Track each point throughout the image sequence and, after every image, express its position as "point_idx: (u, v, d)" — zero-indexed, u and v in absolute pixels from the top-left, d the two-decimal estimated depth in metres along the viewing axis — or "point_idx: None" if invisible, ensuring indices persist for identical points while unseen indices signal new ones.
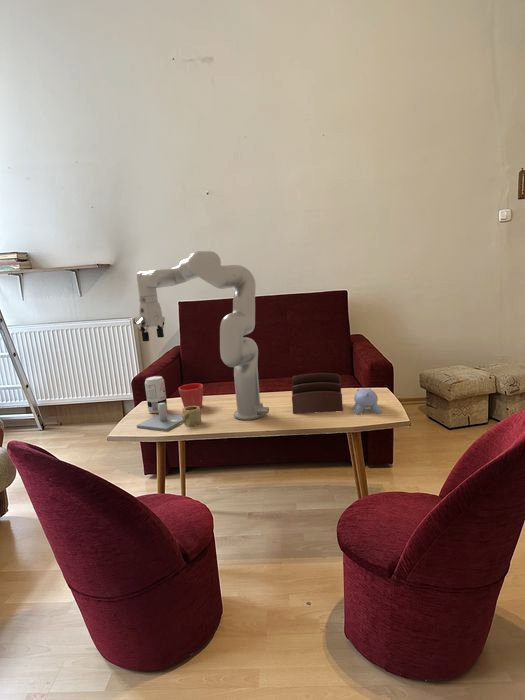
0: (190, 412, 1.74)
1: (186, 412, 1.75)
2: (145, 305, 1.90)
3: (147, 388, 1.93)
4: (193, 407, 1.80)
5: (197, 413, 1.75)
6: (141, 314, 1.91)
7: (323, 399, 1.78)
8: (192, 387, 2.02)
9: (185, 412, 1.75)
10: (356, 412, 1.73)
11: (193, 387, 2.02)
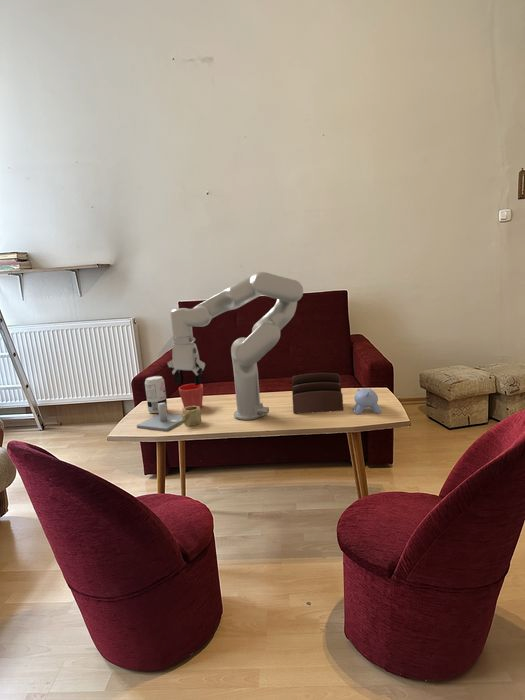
0: (190, 412, 1.74)
1: (186, 412, 1.75)
2: (195, 344, 1.72)
3: (147, 388, 1.93)
4: (193, 407, 1.80)
5: (197, 413, 1.75)
6: (194, 355, 1.71)
7: (324, 399, 1.78)
8: (192, 387, 2.02)
9: (185, 412, 1.75)
10: (356, 412, 1.73)
11: (193, 387, 2.02)
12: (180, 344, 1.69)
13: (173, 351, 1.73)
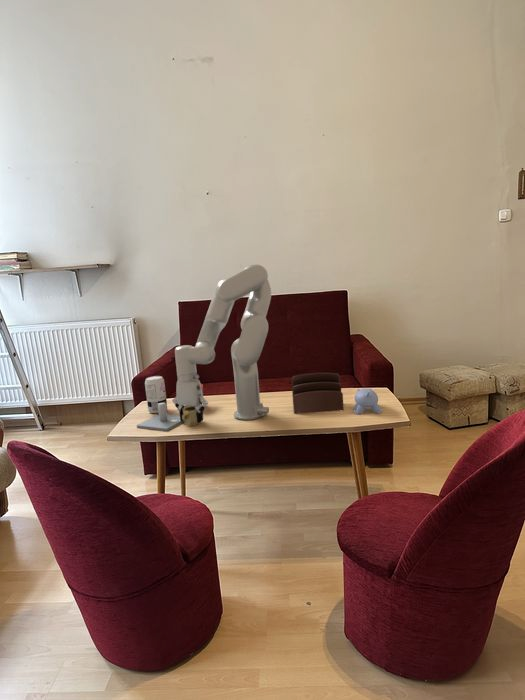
0: (190, 412, 1.74)
1: (186, 412, 1.75)
2: (199, 381, 1.75)
3: (147, 388, 1.93)
4: (193, 407, 1.80)
5: None
6: (198, 392, 1.73)
7: (324, 398, 1.78)
8: None
9: (185, 412, 1.75)
10: (357, 412, 1.73)
11: None
12: (184, 381, 1.72)
13: (177, 387, 1.76)
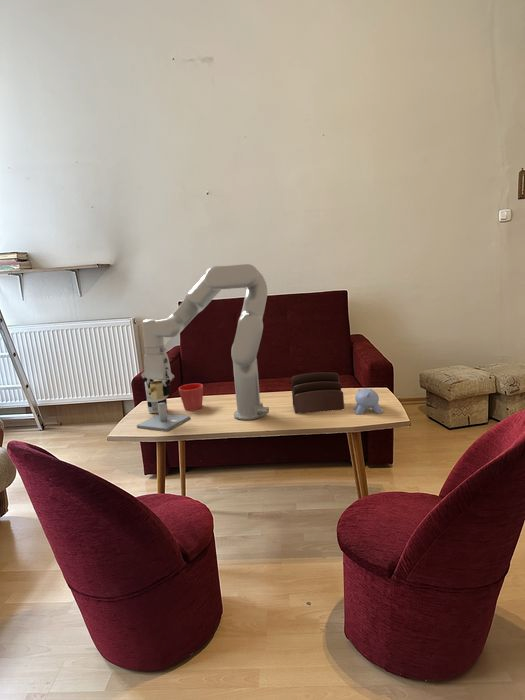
0: (156, 385, 1.75)
1: (152, 385, 1.75)
2: (166, 354, 1.76)
3: (147, 388, 1.93)
4: (160, 381, 1.81)
5: None
6: (165, 365, 1.74)
7: (325, 398, 1.79)
8: (192, 387, 2.02)
9: (152, 385, 1.76)
10: (357, 412, 1.73)
11: (193, 387, 2.02)
12: (151, 354, 1.72)
13: (144, 360, 1.76)
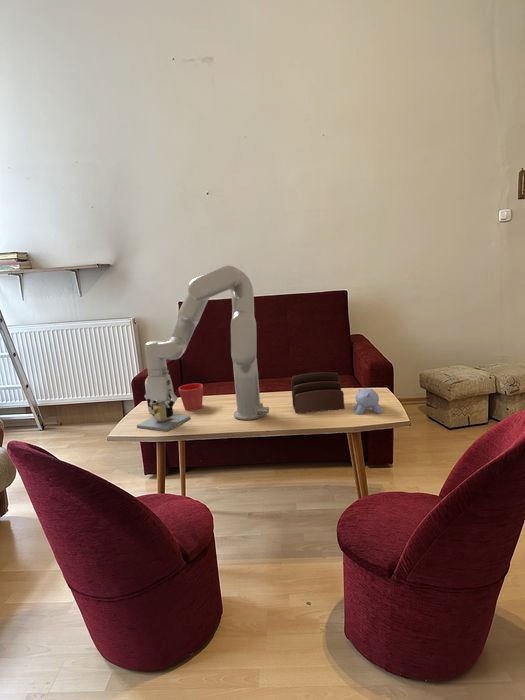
0: (160, 407, 1.77)
1: (156, 407, 1.77)
2: (169, 376, 1.77)
3: None
4: (164, 402, 1.82)
5: (166, 407, 1.78)
6: (168, 387, 1.76)
7: (325, 398, 1.79)
8: (192, 387, 2.02)
9: (155, 407, 1.77)
10: (357, 412, 1.73)
11: (193, 387, 2.02)
12: (154, 376, 1.74)
13: (148, 382, 1.78)
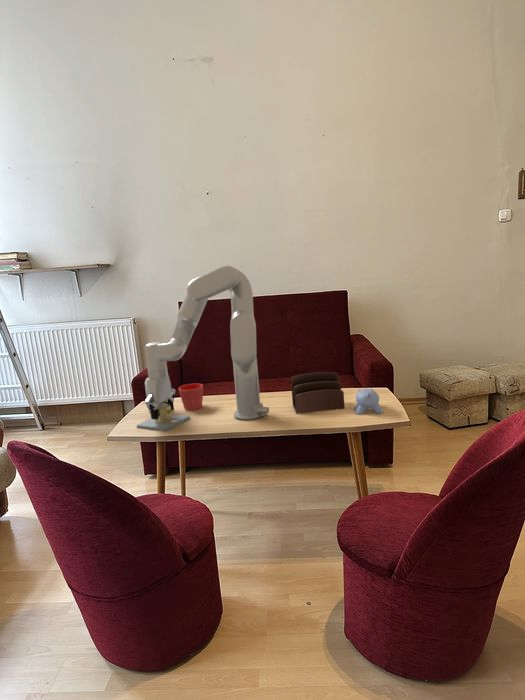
0: None
1: (168, 408, 1.79)
2: None
3: None
4: None
5: None
6: None
7: (326, 397, 1.80)
8: (192, 387, 2.02)
9: (167, 408, 1.78)
10: (357, 412, 1.73)
11: (193, 387, 2.02)
12: (167, 375, 1.77)
13: (157, 385, 1.74)
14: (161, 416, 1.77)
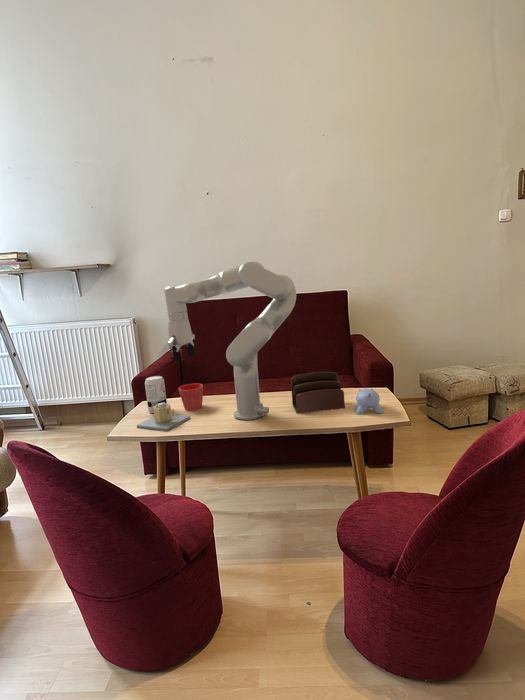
0: None
1: (168, 408, 1.79)
2: None
3: (147, 388, 1.93)
4: (156, 407, 1.81)
5: None
6: None
7: (326, 397, 1.80)
8: (192, 387, 2.02)
9: (167, 408, 1.78)
10: (358, 412, 1.73)
11: (193, 387, 2.02)
12: (187, 317, 1.80)
13: (178, 327, 1.77)
14: (161, 416, 1.77)
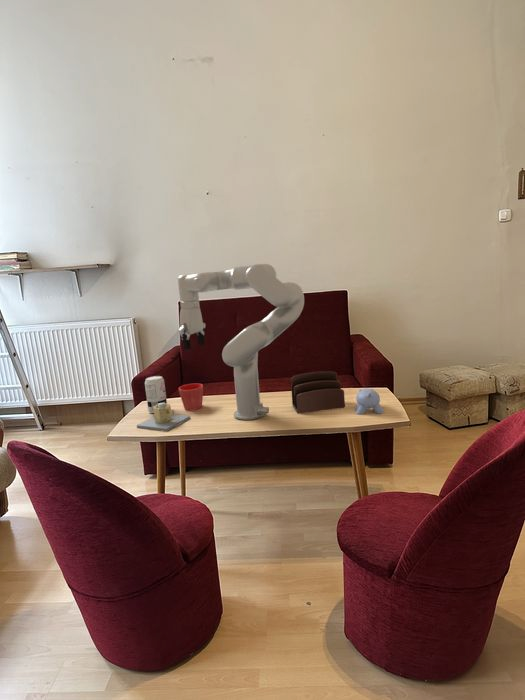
0: None
1: (168, 408, 1.79)
2: None
3: (147, 388, 1.93)
4: (156, 407, 1.81)
5: None
6: None
7: (326, 397, 1.80)
8: (192, 387, 2.02)
9: (167, 408, 1.78)
10: (358, 412, 1.73)
11: (193, 387, 2.02)
12: (199, 306, 1.82)
13: (190, 315, 1.79)
14: (161, 416, 1.77)
